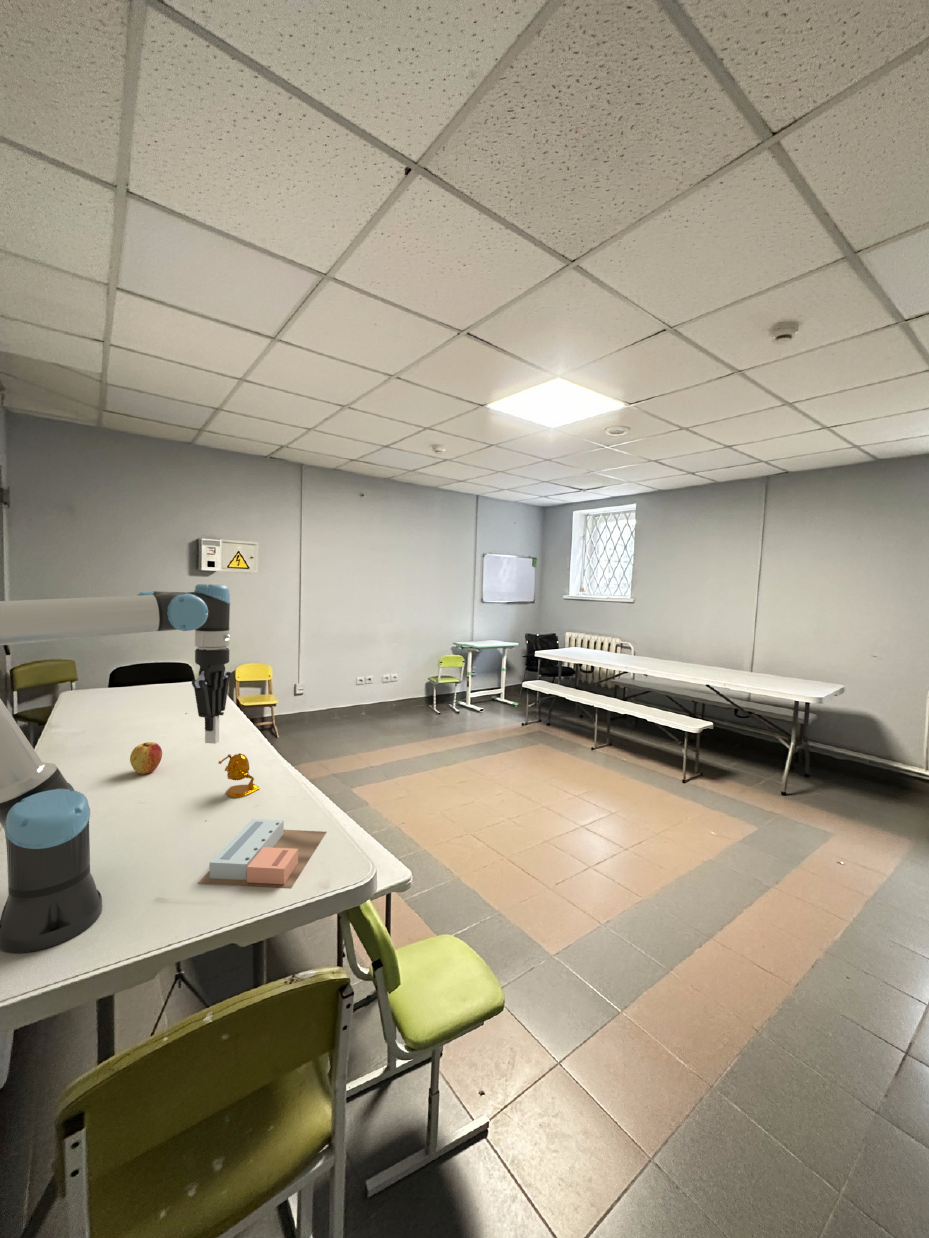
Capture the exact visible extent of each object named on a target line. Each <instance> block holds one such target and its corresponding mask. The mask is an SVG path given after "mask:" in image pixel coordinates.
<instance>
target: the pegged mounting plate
mask: <svg viewBox="0 0 929 1238" xmlns="http://www.w3.org/2000/svg"><path fill="white" fill-rule="evenodd" d="M284 823H285V821H284V820H283V819H267V818H266V819H264V818H263V819H262V818H252V819H250V821H249V822H248V823H247V824H245V826H244V827H242V829H241V830H240V831H239V832H238V833H237V834H236V835H235V836H234V837H233V838H232V839H231V840H230V841H229V842H228V843H227V844H226V845H225V846H224V847H223V848H222V849H221V850H220V851H219V852H218V853H217V855H215V856H214V857H213V858H212V860H211V861H209V871H210V878H216V879H235V880H247V866H248V865H249V864H250V863H251V861H252V860H253V859H254V858H255V857H256V855H257V854H258V853H259V852H260V851H261V849H262V848H263V847H271V848H272V847H273V846H274V845H275V844H276V842H277V841H278V840H279V839H280V837H281V836H282V835H283V834H284V830H285V829H284V827H285V825H284Z"/></svg>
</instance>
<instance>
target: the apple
mask: <svg viewBox="0 0 929 1238" xmlns="http://www.w3.org/2000/svg"><path fill="white" fill-rule="evenodd" d="M162 757H163V751H162V747H161V746H160V745H159V744H158V743H157V742H154V741H153V742H152V741H151V742H150V741H148V742H144V743H141V744H139V745H137V746H135V747H133V749H132V751H131V753H130V756H129V763H130V765H131V767H132V769H133V770H134V771H135V772H136V773H137V774H139V775H146V774H150V773H152V772H154V771H155V770H156V769H157V768H158V766H159V765H160V763H161V761H162Z"/></svg>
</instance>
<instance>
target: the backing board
mask: <svg viewBox="0 0 929 1238" xmlns="http://www.w3.org/2000/svg"><path fill="white" fill-rule="evenodd" d="M327 833H328V832H327V831H323V830H321V831H319V830H300V829H299V830H298V829H297V830H296V829H284V834H283V835H282V836H281V837H280V839H279V840H278V841H277V842H276V844H275V845H274V846H273V847H272V848H292V849H298V864H297V866H296V867H295V869H294V870H293V872H292V873H291V875H290V876H289V878H288V879H287V881H286V882H285V884H268V883H249V882H247V880H235V879H216V878H210V870H209V871H208V872H207V873H206V874H204V876H203V877H202V878H201V879H200V880H199V881H198V882H197V884H198V885H215V886H217V885H218V886H219V885H221V886H238V887H256V888H275V889H276V888H278V889H292V888H293V887H294V885H295V884H296V881H297V880H298V879H299V877H300V876H301V875H302V874H301V873H303V871H304V869H305V867H306V866H307V864H308V862H310V859H311V858H312V856H313V854H314V853H315V852H316V850H317V849H318V847H319V845H320V844H321V842H322V840H323V839H324V837H325V835H326V834H327Z"/></svg>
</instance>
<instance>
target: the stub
mask: <svg viewBox="0 0 929 1238" xmlns="http://www.w3.org/2000/svg"><path fill="white" fill-rule="evenodd" d="M297 864H298V849H292V848H271V847H263V848H262V849H261V851H260V852H259V853H258V854H257V855H256V857H255V858H254V859H253V860H252V861H251V863H250V864H249V865H248V866H247V882H249V883H268V884H285V882H286V881H287V879H288V878H289V876H290V875H291V873H292V872H293V870H294V869H295V867H296V866H297Z"/></svg>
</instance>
